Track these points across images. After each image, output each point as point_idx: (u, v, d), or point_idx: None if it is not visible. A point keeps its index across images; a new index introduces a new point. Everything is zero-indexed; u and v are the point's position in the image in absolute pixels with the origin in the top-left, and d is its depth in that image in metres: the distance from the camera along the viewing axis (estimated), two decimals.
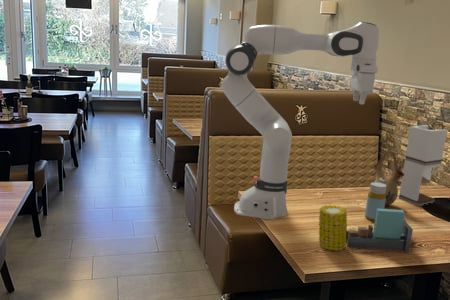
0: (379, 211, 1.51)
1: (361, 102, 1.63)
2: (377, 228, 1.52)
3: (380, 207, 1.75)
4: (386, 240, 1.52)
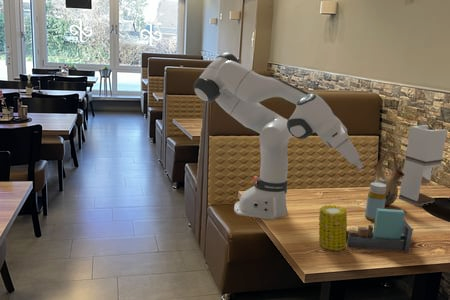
0: (379, 211, 1.51)
1: (359, 166, 1.45)
2: (377, 228, 1.52)
3: (380, 207, 1.75)
4: (386, 240, 1.52)
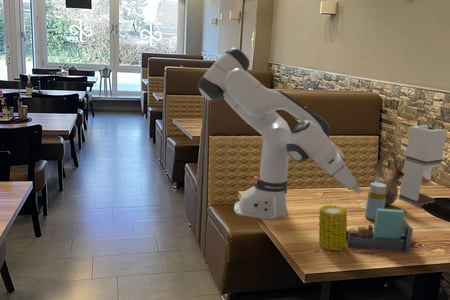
0: (379, 211, 1.51)
1: (357, 191, 1.45)
2: (377, 228, 1.52)
3: (380, 207, 1.75)
4: (386, 240, 1.52)
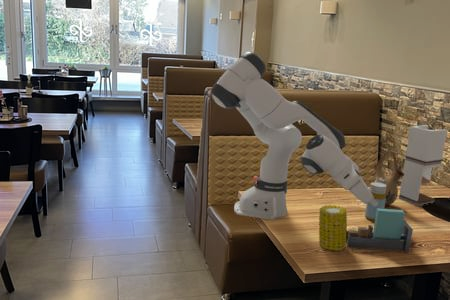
0: (379, 211, 1.51)
1: (374, 204, 1.45)
2: (377, 228, 1.52)
3: (380, 207, 1.75)
4: (386, 240, 1.52)
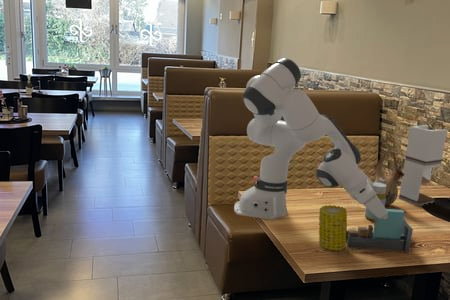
0: None
1: (384, 217, 1.50)
2: (377, 228, 1.52)
3: None
4: (386, 240, 1.52)
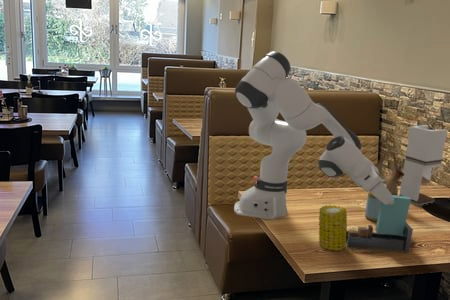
0: None
1: (390, 202, 1.49)
2: (382, 214, 1.51)
3: None
4: (386, 240, 1.52)
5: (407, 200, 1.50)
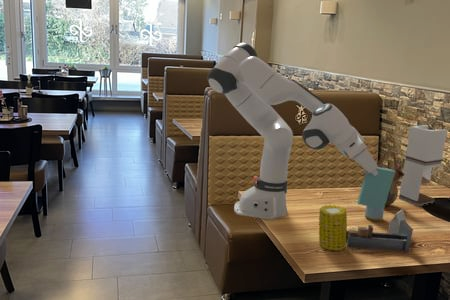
0: None
1: (374, 173, 1.48)
2: (365, 185, 1.50)
3: None
4: (386, 240, 1.52)
5: (391, 172, 1.49)
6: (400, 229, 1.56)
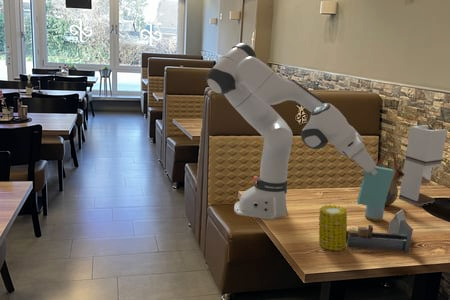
0: None
1: (373, 173, 1.47)
2: (365, 184, 1.50)
3: None
4: (386, 240, 1.52)
5: (390, 172, 1.48)
6: (400, 229, 1.56)
